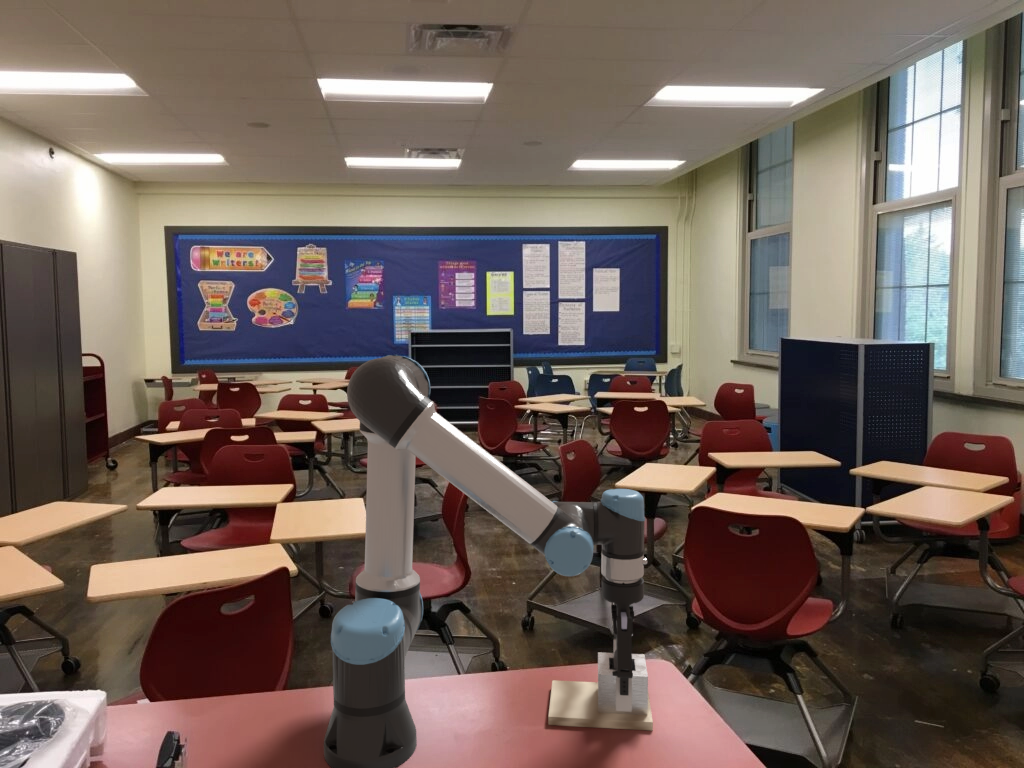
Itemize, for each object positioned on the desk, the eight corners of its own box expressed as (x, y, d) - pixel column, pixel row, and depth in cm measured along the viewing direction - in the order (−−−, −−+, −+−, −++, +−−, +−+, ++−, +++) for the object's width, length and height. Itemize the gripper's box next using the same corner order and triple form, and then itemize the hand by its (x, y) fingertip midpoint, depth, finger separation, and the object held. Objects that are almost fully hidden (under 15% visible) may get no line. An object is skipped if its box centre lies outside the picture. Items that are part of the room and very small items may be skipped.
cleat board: (548, 724, 126) (548, 661, 125) (552, 687, 139) (552, 630, 138) (652, 730, 124) (653, 666, 123) (647, 692, 137) (647, 633, 136)
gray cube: (598, 712, 128) (598, 674, 127) (597, 688, 136) (598, 652, 135) (647, 715, 127) (647, 676, 126) (644, 690, 135) (644, 654, 134)
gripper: (649, 604, 117) (648, 729, 118) (639, 554, 141) (638, 659, 143) (602, 602, 117) (602, 727, 119) (600, 553, 142) (600, 657, 144)
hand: (622, 690), depth 131 cm, fingers open, 13 cm apart
